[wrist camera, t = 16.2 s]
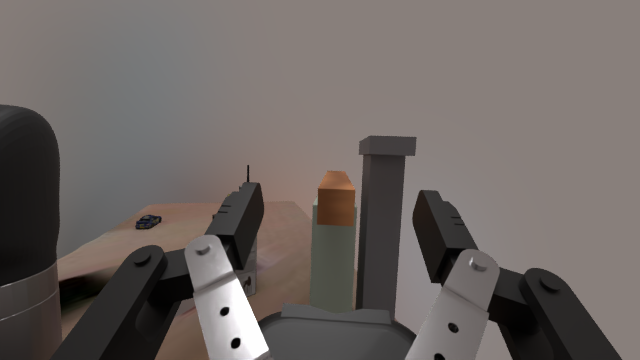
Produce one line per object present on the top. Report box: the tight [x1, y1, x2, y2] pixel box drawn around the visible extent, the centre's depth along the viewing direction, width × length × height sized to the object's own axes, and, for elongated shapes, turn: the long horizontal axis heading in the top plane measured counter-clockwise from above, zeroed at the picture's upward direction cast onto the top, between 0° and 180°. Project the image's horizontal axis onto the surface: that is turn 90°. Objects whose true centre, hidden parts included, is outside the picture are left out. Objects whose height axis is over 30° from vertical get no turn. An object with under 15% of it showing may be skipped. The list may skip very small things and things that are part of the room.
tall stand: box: [356, 136, 416, 320], centre depth 35 cm, size 5×12×32 cm, turn 176°
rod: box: [317, 171, 355, 226], centre depth 33 cm, size 3×24×3 cm, turn 176°
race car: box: [135, 215, 162, 229], centre depth 100 cm, size 15×7×4 cm, turn 18°
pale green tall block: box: [310, 195, 357, 314], centre depth 36 cm, size 5×12×24 cm, turn 176°
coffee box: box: [212, 214, 257, 297], centre depth 54 cm, size 9×6×16 cm
